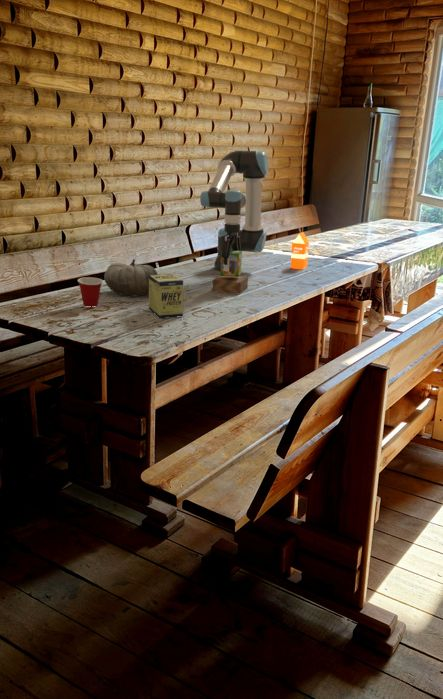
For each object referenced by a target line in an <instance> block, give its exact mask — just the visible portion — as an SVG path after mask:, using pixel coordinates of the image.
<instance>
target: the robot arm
mask: <svg viewBox="0 0 443 699" xmlns="http://www.w3.org/2000/svg"><path fill="white" fill-rule="evenodd" d="M268 173H269V160H268V155H267V153H266V152H264V151H259V150H234V151H232V152H229V153H228V154H226V155H225V156H223V157H222V158H221V159H220V161H219V163H218V164H217V172H216V174H215V175H214V178H213V180H212V183H211V184H210V186H209V189H207V190H203V191H202V192H201V193H200V197H199V200H200V205H201V206H202V207H203V208H204V207H206V208H220V209H221V208H222V209H224V223H225V224H224V227H222V228H220V229H219V230H218V233H217V255H216V258H215V260H214V265H213V268H214V270H217V271H221V257H222V258H224V264H223V271H227V272H229V258H228V257H229V253H230V250H231V247H232V250H235V251H242V252H247V253H248V252H249V253H261V252H262V251H263V250H264V249H265V244H266V240H267V231H265V230H264V226H263V225H262V223H261V222H262V221H261V220H262V190H263V189H262V188H263V185H262V184H263V180H264V179H266V178H265V177H266V175H268ZM235 174H242V178H243V179H244V180H245V194H244V193H243V192H242V191H241V190H238V189H237V190H236V189H228V190H226V189H227V186H228V184H229V183H230V180H231V177H232V176H234V175H235ZM243 207H244V209H245V211H244V212H245V213H244V216H245V218H244V222H245V223H244V225H243V226H242V229H241V224H240V223H241V219H242V217H241V210H242V208H243ZM221 252H222V255H221Z"/></svg>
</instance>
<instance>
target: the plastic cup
mask: <svg viewBox="0 0 443 699" xmlns="http://www.w3.org/2000/svg"><path fill="white" fill-rule="evenodd" d="M77 282H78V285H79V289H80V295H81V299H82V303H83V307H84V306H91V307H92V306H97V305H99V300H100V293H101V288H102V284H103V282H104V280H103V279H102V278H98V277H90V276H87V277H85V276H84V277H80V278H78V279H77ZM97 307H98V306H97Z"/></svg>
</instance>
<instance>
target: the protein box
mask: <svg viewBox="0 0 443 699" xmlns="http://www.w3.org/2000/svg"><path fill="white" fill-rule="evenodd" d="M149 309H150V310H151V311H152V312H151V311H150V310H149ZM148 310H149V311H150V312H151V313H153V314H154V313H155V314H156V315H157V316H158V317H159V318H158V317H157V316H156V315H155V314H154V315H155V316H156V317H157V318H158V319H160V318H161V319H166V318H165V317H173V318H178V317H177V316H183V317H184V280H182V279H181V278H179V277H178V276H176V275H174V274H173V273H161V274H159V273H157V275H149V294H148Z"/></svg>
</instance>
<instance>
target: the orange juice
mask: <svg viewBox="0 0 443 699" xmlns="http://www.w3.org/2000/svg"><path fill="white" fill-rule="evenodd" d="M309 244H310V241H309V240H308V238H307V236H306V235H305V233H304V231H302V232H299V234H298V235H297V236H296V237H295V239H294V240H293V242H292V243H291V256H290V269H295V270H296V269H297V270H305V269H306V268H307V267H308V261H309V260H308V259H309Z"/></svg>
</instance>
